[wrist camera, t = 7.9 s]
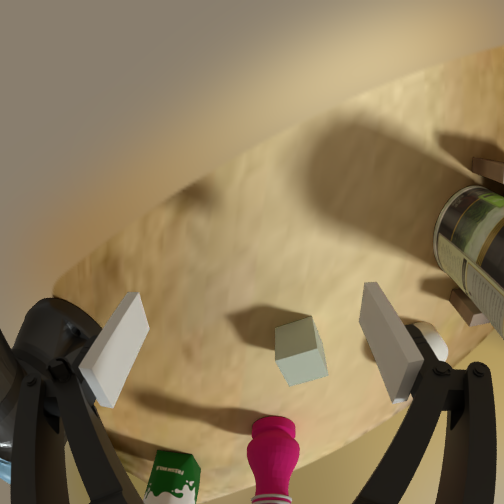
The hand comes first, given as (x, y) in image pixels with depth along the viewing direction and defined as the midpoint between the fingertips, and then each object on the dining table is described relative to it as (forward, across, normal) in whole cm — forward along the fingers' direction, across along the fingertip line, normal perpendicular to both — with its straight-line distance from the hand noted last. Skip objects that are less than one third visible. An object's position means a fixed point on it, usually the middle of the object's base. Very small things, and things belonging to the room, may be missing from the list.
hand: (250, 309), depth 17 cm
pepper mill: (+11, +1, -29) cm, 31 cm away
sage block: (+11, +4, -11) cm, 16 cm away
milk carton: (+12, -17, -44) cm, 49 cm away
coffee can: (+10, +22, 0) cm, 25 cm away
